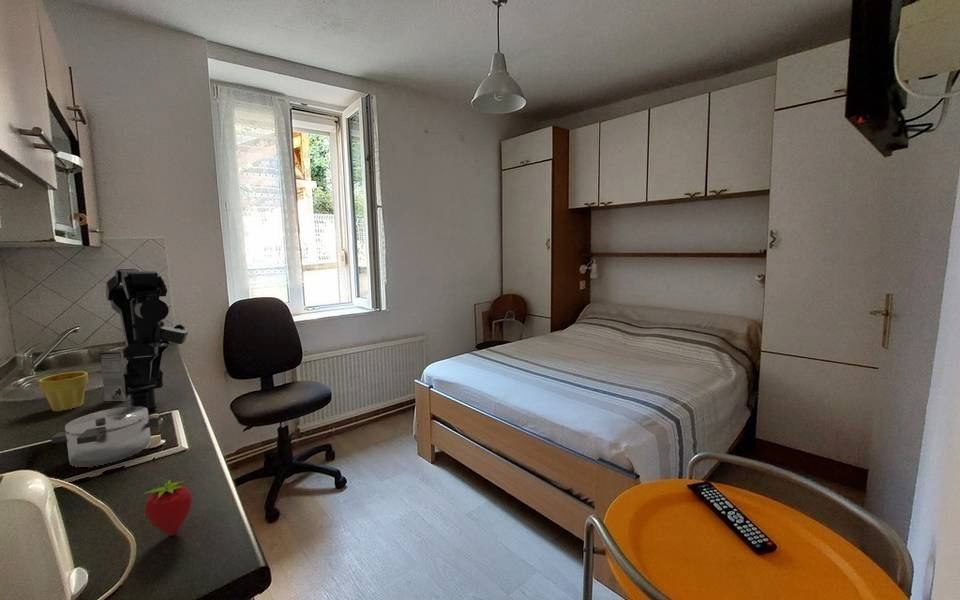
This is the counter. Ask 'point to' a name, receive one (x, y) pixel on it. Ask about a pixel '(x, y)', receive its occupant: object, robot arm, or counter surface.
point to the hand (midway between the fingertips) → (152, 376)
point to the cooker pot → (109, 444)
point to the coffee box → (113, 373)
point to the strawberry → (168, 507)
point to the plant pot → (64, 390)
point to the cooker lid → (104, 422)
